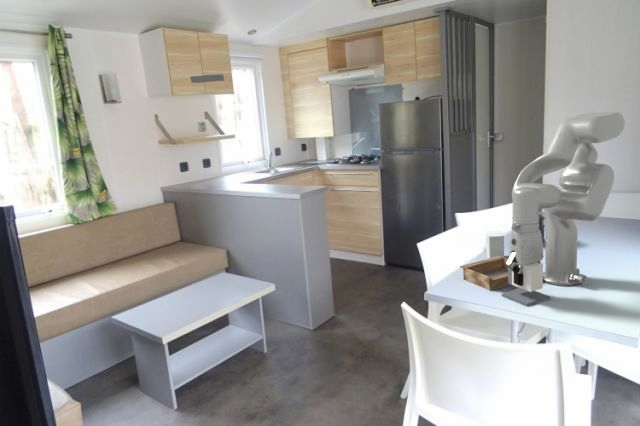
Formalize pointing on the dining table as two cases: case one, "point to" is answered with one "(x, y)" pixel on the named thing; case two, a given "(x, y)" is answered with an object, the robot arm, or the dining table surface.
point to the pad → (525, 296)
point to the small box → (495, 244)
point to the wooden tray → (478, 269)
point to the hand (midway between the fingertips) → (525, 282)
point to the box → (529, 277)
